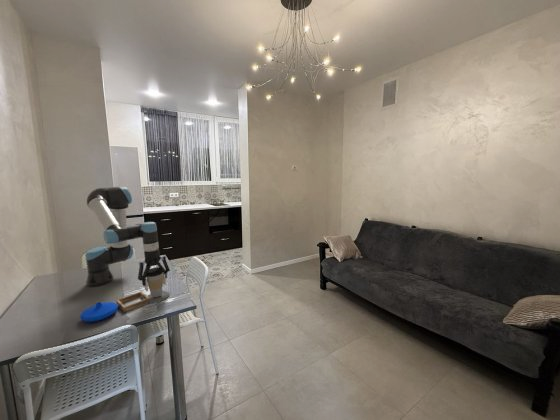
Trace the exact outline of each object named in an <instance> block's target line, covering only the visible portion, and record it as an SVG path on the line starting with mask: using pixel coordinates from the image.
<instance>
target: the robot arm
mask: <svg viewBox="0 0 560 420" xmlns="http://www.w3.org/2000/svg"><path fill="white" fill-rule="evenodd" d="M132 202H133V198H132V194H131V191H130V190H129V189H128V188H127V187H125V186H114V187H99V188H96V189H94V190H92V191H91V192H90V193H88V196H87V198H86V205H87V207H88V208H89V210H91V211H92V212H93V213H94V215H95V216H96V218H97V219H98V221H99V223H100V225H101V227H102V228H103V229H104V231H103V233H102V235H103V239H104V240H103V241H104V242H105V244H109V247H107V246H104V245H103V246H96V247H94V248H91V249H89V250H87V251H86V252H85V253H84V254H85V262H86V267H87V268H86V269H87V278H86V281H85V284H86V287H88V286H89V287H90V288H96V287H100V286H101V287H102V286H104V285H108V284H109V283H111V282H113V281H114V279H115V278H114V274H113V272H112V271H111V269H110V265H113V264H117V263H120V262H121V263H122V262H125V261H127V260H130V259H132V258H133V255H134V247H133V244H132V243H131V242H130V241H131V240H135V239H140V238H142V244H143V250H144V252H143V254H144V260H143V261H139V262H138V265H139V268H138V274H137V275H138V276H137V280H139V281H141V283H142V284H141V285H143V287H144V290H145V291H146V292H149V286H148V282H147V274H148V272H149V269H151V268H153V267H154V266H158V267H159V268H161V269H162V270H163V285H165V286H166V285H167V278H168V272H170V267H169V264H168V263H167V259H166V258H167V257H166V256H165V255H162V256H160V254H161V253H160V249H159V248H160V247H159V245H160V244H159V238H158V228H157V227H158V226H157V223H156V222H154V221H146V222H143V223H135V224H134V225H129V226H127V209H128V208H129V205H130V204H132ZM160 260H161V261H162V263H160ZM145 264H146V265H145ZM162 264H163V265H162ZM144 267H145V268H144ZM89 287H88V288H89Z"/></svg>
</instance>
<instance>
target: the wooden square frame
mask: <svg viewBox="0 0 560 420" xmlns="http://www.w3.org/2000/svg"><path fill="white" fill-rule="evenodd" d="M138 298H142V300H139V301H137V302H135V303H132V304H129V305H127V306H126V305H124V303H126V302H129V301H132V300H135V299H138ZM144 298H145V299H144ZM115 301H116V302H115V303H116V304H117V305H118V308H120V310H121V311H122V312H124V313H127V312H129V311H132V310H134V309H137V308H139V307H143V306H144V305H147V304H149V303H148V302H149V301H151V300H150V297H148V296H147V294H146V293H145V292H143V291H142V290H141V291H138V292H136V293H133V294H130V295H126V296H124V297H121V298H119V299H116V300H115Z"/></svg>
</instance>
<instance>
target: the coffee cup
mask: <svg viewBox="0 0 560 420" xmlns="http://www.w3.org/2000/svg"><path fill="white" fill-rule="evenodd" d="M146 280H147V284H148V290H149V292H150V293H149V294H151V296H152V297H158V296H160V295H162V291H163V285H164V284H163V270H162V269H161V268H159V267H151V268H150V269H149V272H148V274H147V277H146Z"/></svg>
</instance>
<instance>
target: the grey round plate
mask: <svg viewBox="0 0 560 420" xmlns="http://www.w3.org/2000/svg"><path fill="white" fill-rule="evenodd" d="M146 295H147V294H146ZM147 296H148V297H150V300H151V301H149V302H148V304H149V303H152V304H158V303H161V302H164V301H166V300H167V299H168V298H170V293H169V292H168V291H166V290H162V295H160V296H158V297H152V296H151V293H149V294H148V295H147ZM144 299H145V298H144ZM144 299H143V300H144Z"/></svg>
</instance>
